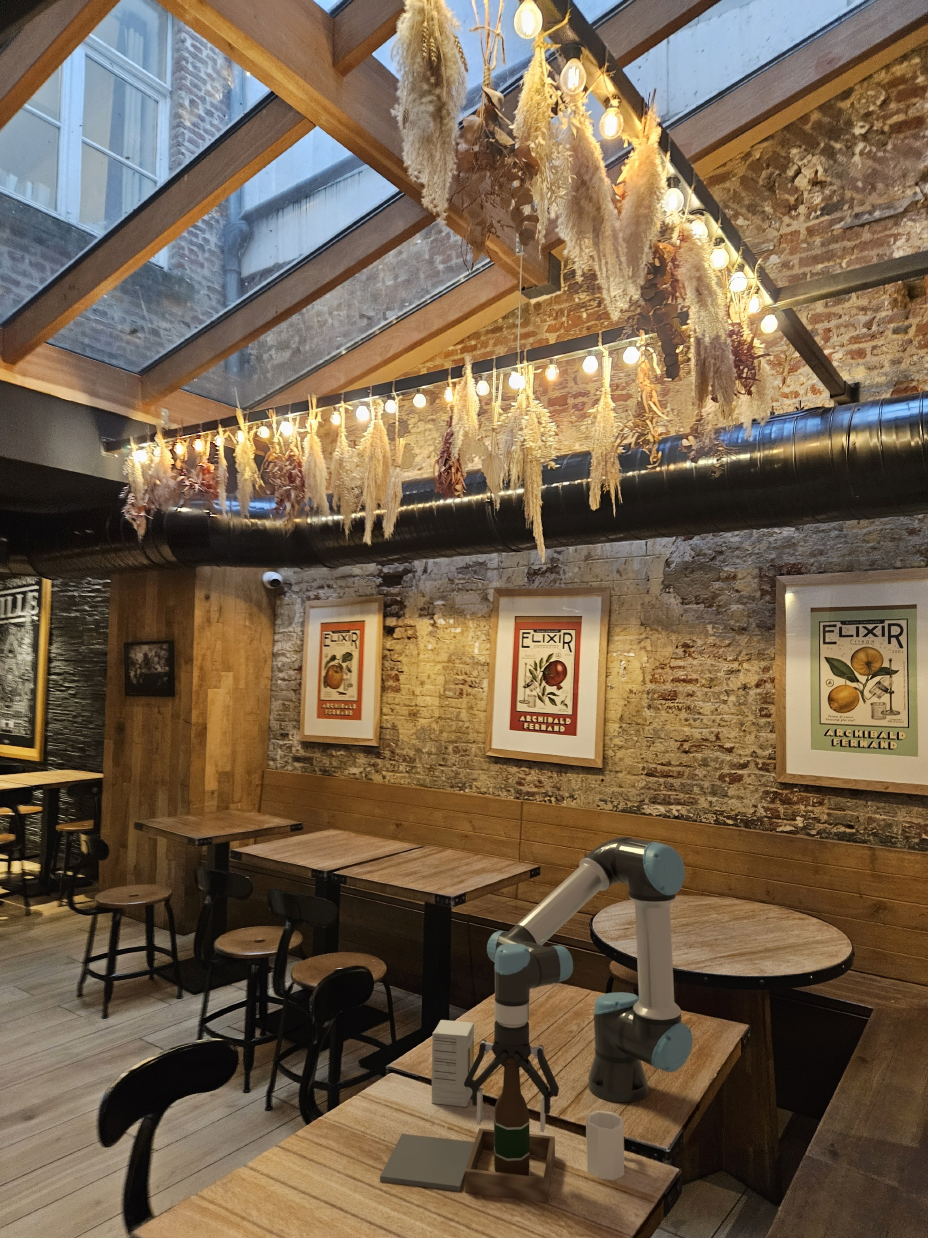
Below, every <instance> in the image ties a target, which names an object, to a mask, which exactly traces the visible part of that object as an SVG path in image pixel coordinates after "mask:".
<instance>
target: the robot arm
mask: <svg viewBox="0 0 928 1238" xmlns="http://www.w3.org/2000/svg"><path fill="white" fill-rule="evenodd" d="M685 869H686V868H685V864H684V861H683V859H682V857H681V855H680V854H679V852H678V851H677V850H676V849H675V848H674V847H672V846H670V845H667V844H663V843H662V842H658V841H651V840H645V839H640V838H639V839H638V838H633V837H630V836H621V837H620V836H619V837H616V838H615V837H614V838H611V839H609V840H607V841H605V842H603V843H601V844H599V845H598V846H596V847H595V848H594V849H592V850H591V851H590V852H588V853H587V854H586V855H584V857H582V858H581V859H580V860H579V865H578V868H576V869H575V870H574V871H573V872H572V873H571V874H570V875H569V876H568V877H567V878H565V880H564V881H561V883H560V884H559V885H558V886H557V887H556V888H555V889H554V890H552V891H551V892H550V893H549V894H547V896H546V897H544V899H543V900H541V901H540V902H539V903H538V904H537V905H536V906H534V908H532V910H531V911H530V912H528V913H527V914H526V915H525V916H524V917H523V918H522V919H521V920H520V921H519V922H518V923H516V924H515V925H514V927H512V928H511V929H510V930H509V931H506V930H505V931H503V930H498V931H496V932H494V933H492V934H491V936H490V937H489V939H488V941H487V945H486V953H487V955H488V958H489V959H490V961H492V962H493V963H494V1020H495V1021H494V1024H493V1025H494V1029H493V1030H494V1037H493V1043H491V1042H488V1041H487V1040H486V1039H481V1042H480V1044H479V1047H478V1048H479V1049H478V1053H477V1056H476V1058H475V1059H474V1063H473V1065H472V1067H471V1069H470V1071H469V1073H468V1075H467V1077H466V1080H465V1082H464V1086H465V1087H469V1088H471V1089H472V1096H471V1099H472V1100H471V1101H472V1102H471V1104H472V1106H473V1107H476V1125H478V1126H479V1125H480V1126H481V1124H482V1122H483V1105H484V1104H483V1099H484V1098H483V1095H484V1093H483V1092H484V1090H483V1089H484V1086H483V1084H484V1083H485V1082H486V1081H487V1080H488V1078H489V1077H490V1076H491V1075H492V1074H493V1072H495V1071H496V1070H497V1069H498V1068H499V1066H502V1067H503V1069H504V1068H505V1067H506V1065H507V1063H506V1062H504V1060H505V1059H506V1058H507V1057H514V1059H515V1060H516V1062H517V1064H516V1069H518V1068H519V1069H520V1068H521V1069H522V1070H523V1072H524V1073H526V1075H527V1076H528V1078H529V1079H530V1080H531V1082H532V1083H533V1084H534V1086H535V1087H536V1088H537V1090H538V1091H539V1092H540V1095H541V1096H540V1122H539V1123H540V1124H539V1125H540V1127H539V1128H540V1130H539V1132H540V1133H545V1130H546V1115H550V1112H551V1099H552V1097H556V1098H557V1097H558V1096H559V1091H560V1088H559V1085H558V1082H557V1080H556V1079H555V1076H554V1074H553V1072H552V1070H551V1067H550V1064H549V1063H548V1061H547V1059H546V1055H545V1048H544V1047H545V1046H544V1045H543V1044H539V1045H538V1046H531V1045H530V1023H529V1021H530V995H531V994H530V993H531V989H536V988H541V987H545V986H548V985H553V984H559V983H560V982H563V981H567V980H568V979H569V978H571V976H572V974H573V971H574V961H573V956H572V954H571V953H570V951H569V950H568V948H566V947H565V946H563V945H550V946H543V945H544V944H545V943H546V942H547V941H548V940H549V939H551V937H552V936H553V935H554V934H555V933H556V932H557V931H559V930H560V929H561V928H562V927H563V926H564V925H565V924H566V923H567V922H568V921H570V919H572V917H574V915H575V914H576V913H578V911H580V909H582V907H584V906H585V905H586V904H588V902H589V901H590V900H591V899H592V898H593V897H594V896H595V895H597V894H598V893H599V892H601V891H607V890H608V889H609V888H610V887H611V886H612V885H615V884H625V885H627V889H628V890H627V891H628V898H629V899H630V900H631V901H632V902H633V903H634V910H635V911H634V913H635V936H636V959H637V960H636V961H637V983H638V995H636V994H635V993H630V992H620V991H619V992H608V993H603V994H600V995H599V996H597V997H596V999H595V1001H594V1012H593V1020H594V1021H593V1023H594V1024H593V1025H594V1027H593V1028H594V1029H593V1030H594V1057H593V1060H592V1063H591V1068H590V1070H589V1073H588V1077H587V1078H588V1081H587V1082H588V1089H589V1090H590V1093H592V1094H593V1095H595V1096H596V1097H598V1098H600V1099H603V1100H606V1101H610V1102H615V1103H632V1102H637V1101H641V1100H642V1099H644V1098H645V1097H647V1095H648V1093H649V1089H648V1088H649V1087H648V1085H649V1084H648V1080H647V1079H648V1078H647V1075H646V1073H645V1069H644V1066H643V1063H642V1062H644V1063H646V1064H648V1065H649V1066H652V1067H653V1068H654V1069H656V1070H661V1071H663V1072H665V1073H675V1072H676V1071H677V1072H678V1070H680V1069H681V1068H682V1067H683V1066H684V1065H685V1063H687V1060H688V1059H689V1057H690V1055H691V1051H692V1048H693V1040H694V1039H693V1032H692V1030H691V1029H690V1028H689V1026H688V1025H687V1024H685V1023H684V1022H682V1010H681V1008H680V1006H679V1005H678V1004H677V1003H676V1002H675V993H674V992H675V991H674V990H675V988H674V987H675V986H674V970H673V967H674V966H673V963H674V962H673V947H672V946H673V944H672V943H673V942H672V926H671V925H672V924H671V923H672V922H671V904H672V903H673V902H674V901H675V900H676V899H677V898H676V897H677V893H679V892H680V890H681V889H682V887H683V883H685V882H684V881H685V877H686V872H685V871H686V870H685ZM490 1051H492V1053H493V1055H494V1056H495V1057H494V1058H493V1060H492V1061H491V1062H490V1063H489V1064H488V1065H487V1067H485V1069H484V1070H483V1071H482V1072H481V1073H480V1074H479V1076H478V1077H477V1078H476V1079H474V1080H473V1077H474V1078H475V1075H476V1073H477V1071H478V1068H479V1067H480V1065H481V1063H482V1061H483V1059H484V1056H485V1055H487V1054H488V1053H489V1052H490ZM531 1054H532V1055H533V1057H534V1059H536V1060H537V1061H538V1065H539V1068H540V1069H541V1072H542V1074H543V1077H544V1079H545V1081H546V1082H545V1081H544V1079H543V1078H542V1076H541V1075H540V1074H539V1072H538V1071H537V1070H536V1068H535V1067H534V1065H533V1064H532V1061H531V1060H530V1059H529V1057H530V1056H531Z"/></svg>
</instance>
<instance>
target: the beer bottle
mask: <svg viewBox="0 0 928 1238" xmlns="http://www.w3.org/2000/svg"><path fill="white" fill-rule="evenodd" d="M504 1062H506V1063H507V1065H506V1067H505V1068H504V1067H503V1082H502V1090H501V1093H500V1095H499V1096H498V1098H497V1100H496V1103H495V1105H494V1113H493V1130H494V1151H493V1166H494V1167H493V1168H494V1172H500V1173H508V1174H517V1175H525V1176H530V1159H531V1158H530V1143H529V1134H530V1112H529V1109H528V1108H529V1107H528V1105H527V1102H526V1100H525V1097H524V1095H523V1094H522V1090H521V1076H520V1075H521V1074H520V1068H518V1069H516V1064H517V1062H516V1060H515V1059H514V1057H507V1058H506V1059H505V1060H504Z"/></svg>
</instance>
